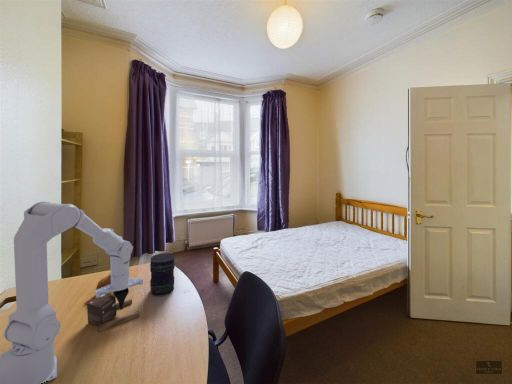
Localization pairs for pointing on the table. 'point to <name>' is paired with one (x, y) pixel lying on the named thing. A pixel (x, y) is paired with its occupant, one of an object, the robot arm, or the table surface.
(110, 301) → the box
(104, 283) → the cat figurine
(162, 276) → the storage jar
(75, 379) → the table surface
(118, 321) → the shelf lane
